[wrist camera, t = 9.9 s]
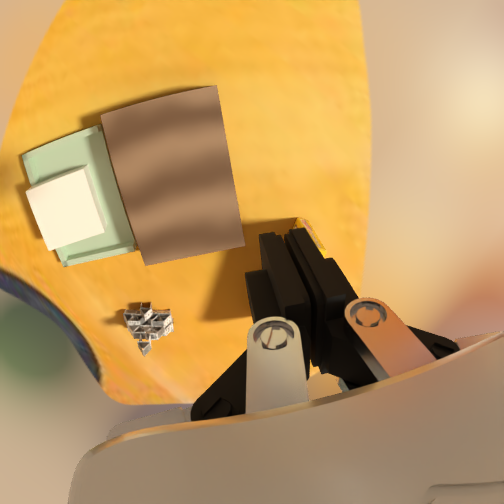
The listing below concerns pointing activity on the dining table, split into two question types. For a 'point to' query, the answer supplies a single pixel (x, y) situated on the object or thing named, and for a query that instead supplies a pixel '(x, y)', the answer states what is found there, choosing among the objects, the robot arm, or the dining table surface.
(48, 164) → the tray
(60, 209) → the tile
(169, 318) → the house of cards
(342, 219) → the dining table surface
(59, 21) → the dining table surface
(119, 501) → the robot arm
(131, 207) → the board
